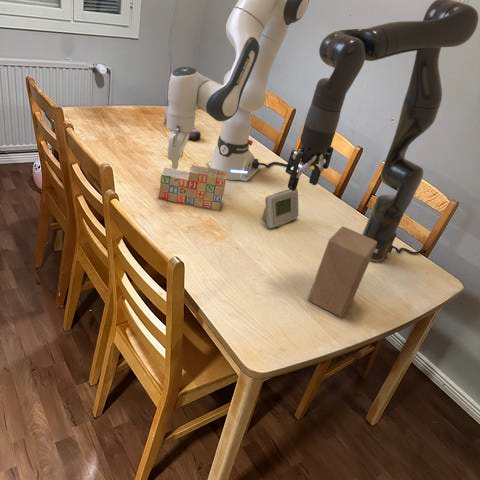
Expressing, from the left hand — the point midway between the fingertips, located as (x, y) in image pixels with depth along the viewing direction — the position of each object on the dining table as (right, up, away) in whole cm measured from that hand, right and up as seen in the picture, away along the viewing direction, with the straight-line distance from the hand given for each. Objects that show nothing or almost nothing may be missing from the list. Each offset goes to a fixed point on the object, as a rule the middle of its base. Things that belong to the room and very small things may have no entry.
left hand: (177, 162), depth 147 cm
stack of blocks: (+4, -12, +7) cm, 14 cm away
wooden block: (+46, -43, -25) cm, 67 cm away
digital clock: (+34, -19, +7) cm, 40 cm away
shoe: (-6, +25, +62) cm, 67 cm away
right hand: (+37, -12, -34) cm, 51 cm away
